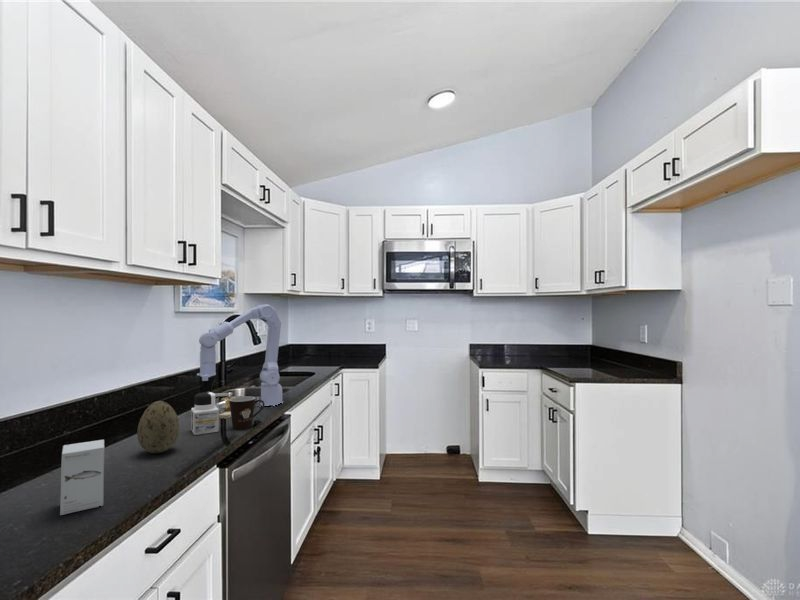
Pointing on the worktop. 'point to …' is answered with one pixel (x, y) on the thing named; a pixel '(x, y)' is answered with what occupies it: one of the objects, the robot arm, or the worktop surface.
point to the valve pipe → (224, 404)
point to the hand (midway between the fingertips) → (207, 395)
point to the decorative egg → (158, 427)
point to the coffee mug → (243, 412)
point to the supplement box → (82, 476)
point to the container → (204, 414)
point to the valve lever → (224, 394)
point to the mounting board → (225, 414)
